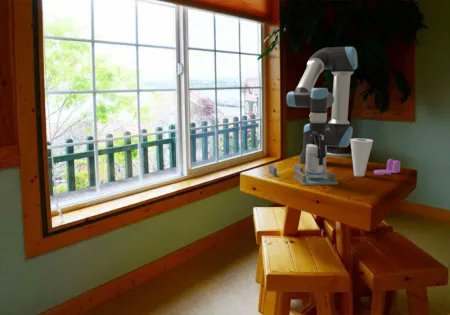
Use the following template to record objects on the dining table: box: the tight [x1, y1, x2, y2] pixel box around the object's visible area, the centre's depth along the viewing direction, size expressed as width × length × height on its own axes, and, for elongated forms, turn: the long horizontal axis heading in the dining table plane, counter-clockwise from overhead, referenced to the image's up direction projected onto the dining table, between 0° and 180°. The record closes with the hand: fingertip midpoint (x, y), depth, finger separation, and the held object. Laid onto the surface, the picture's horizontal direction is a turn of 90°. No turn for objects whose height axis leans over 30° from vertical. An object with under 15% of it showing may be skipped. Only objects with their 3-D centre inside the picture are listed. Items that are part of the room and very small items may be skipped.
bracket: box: [373, 158, 401, 176], centre depth 202 cm, size 13×6×7 cm, turn 108°
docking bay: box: [293, 169, 339, 186], centre depth 185 cm, size 16×16×4 cm
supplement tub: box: [304, 144, 328, 178], centre depth 184 cm, size 10×10×15 cm
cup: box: [350, 138, 374, 178], centre depth 195 cm, size 11×11×18 cm
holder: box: [268, 163, 304, 177], centre depth 198 cm, size 15×10×4 cm, turn 98°
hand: (315, 169), depth 184 cm, fingers closed on supplement tub, 9 cm apart
